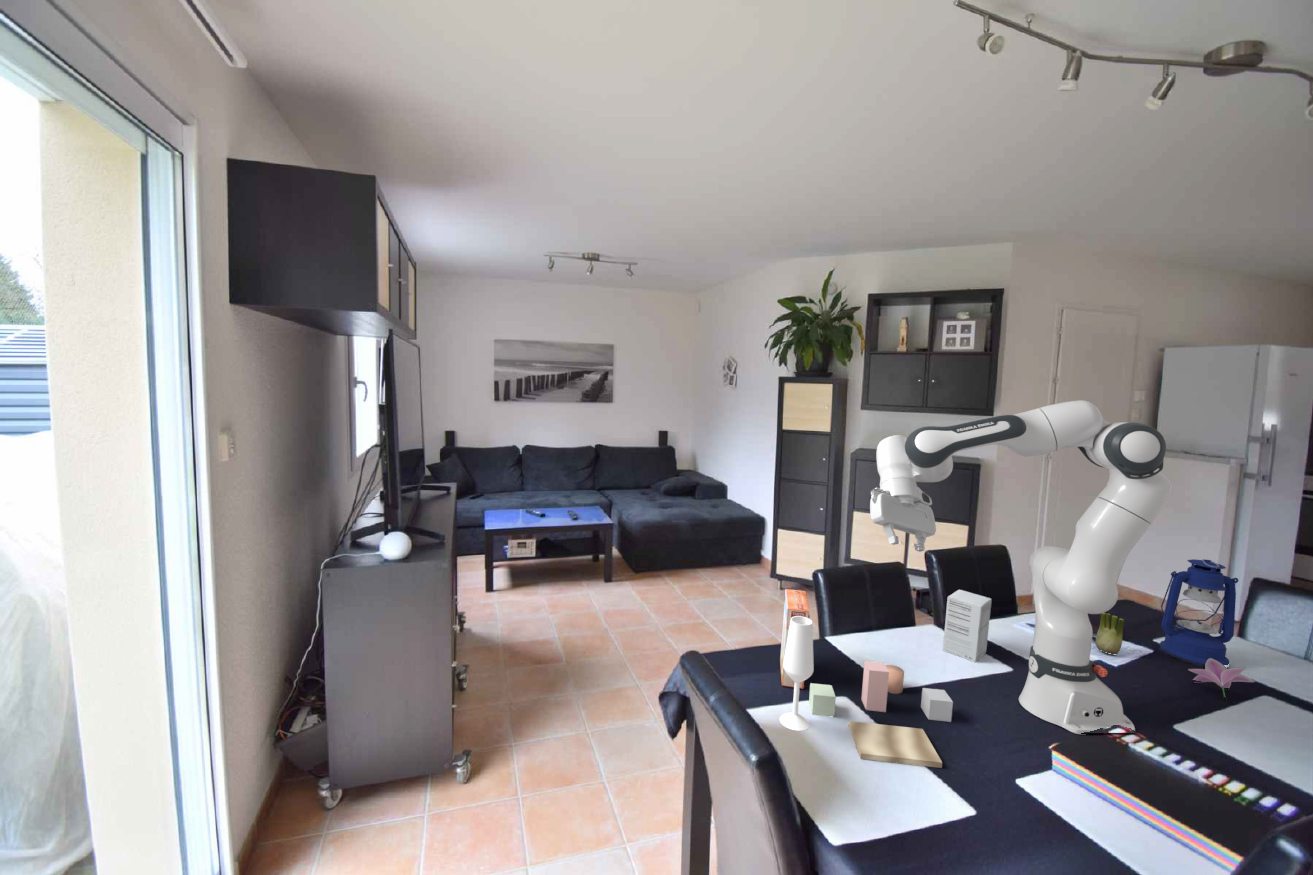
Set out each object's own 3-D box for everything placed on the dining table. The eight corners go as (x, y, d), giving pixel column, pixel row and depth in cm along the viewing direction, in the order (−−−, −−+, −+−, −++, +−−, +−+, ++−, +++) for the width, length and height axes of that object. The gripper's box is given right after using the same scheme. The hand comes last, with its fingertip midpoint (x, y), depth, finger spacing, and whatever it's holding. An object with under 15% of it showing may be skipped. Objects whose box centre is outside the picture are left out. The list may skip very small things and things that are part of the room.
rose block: (880, 701, 134) (883, 662, 133) (885, 712, 130) (889, 672, 129) (861, 699, 135) (864, 660, 134) (866, 710, 130) (869, 670, 129)
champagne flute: (810, 716, 127) (817, 617, 124) (808, 733, 120) (816, 629, 118) (781, 710, 129) (787, 612, 126) (777, 726, 123) (784, 623, 120)
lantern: (1173, 663, 160) (1187, 563, 157) (1144, 640, 174) (1156, 549, 171) (1247, 674, 155) (1263, 571, 152) (1211, 649, 169) (1225, 556, 166)
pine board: (922, 733, 122) (922, 728, 122) (941, 768, 111) (942, 762, 111) (848, 726, 124) (848, 721, 124) (860, 758, 113) (860, 753, 113)
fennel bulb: (1122, 658, 162) (1127, 619, 161) (1106, 657, 162) (1111, 618, 161) (1106, 648, 168) (1111, 611, 166) (1090, 647, 168) (1095, 610, 166)
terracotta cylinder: (898, 684, 142) (900, 665, 142) (905, 694, 138) (907, 675, 137) (879, 682, 143) (880, 663, 143) (884, 692, 138) (886, 673, 138)
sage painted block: (830, 704, 132) (831, 685, 131) (834, 717, 127) (835, 697, 126) (808, 702, 132) (810, 683, 132) (812, 715, 128) (813, 694, 127)
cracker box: (805, 690, 138) (810, 610, 136) (780, 686, 139) (785, 607, 137) (801, 663, 151) (806, 590, 149) (779, 660, 153) (784, 587, 150)
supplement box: (953, 641, 168) (958, 588, 167) (986, 652, 162) (992, 598, 160) (941, 650, 162) (946, 595, 160) (975, 663, 155) (981, 606, 154)
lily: (1262, 707, 140) (1252, 667, 144) (1253, 702, 134) (1243, 660, 138) (1198, 700, 149) (1190, 662, 153) (1187, 695, 143) (1179, 656, 147)
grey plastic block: (942, 709, 132) (944, 690, 131) (951, 722, 127) (953, 701, 126) (920, 707, 132) (922, 687, 132) (928, 719, 127) (930, 699, 127)
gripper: (881, 481, 134) (888, 536, 128) (935, 500, 143) (945, 552, 136) (861, 489, 139) (867, 542, 133) (915, 506, 148) (923, 557, 141)
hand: (907, 547), depth 135 cm, fingers open, 8 cm apart
